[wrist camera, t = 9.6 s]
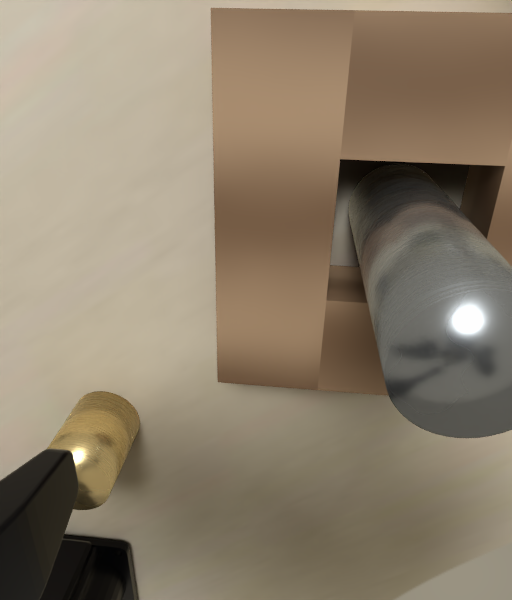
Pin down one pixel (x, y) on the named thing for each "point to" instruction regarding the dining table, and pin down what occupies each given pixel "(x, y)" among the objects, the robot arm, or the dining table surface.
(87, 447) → the short pin
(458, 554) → the dining table surface
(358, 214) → the tall pin
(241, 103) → the hole block
